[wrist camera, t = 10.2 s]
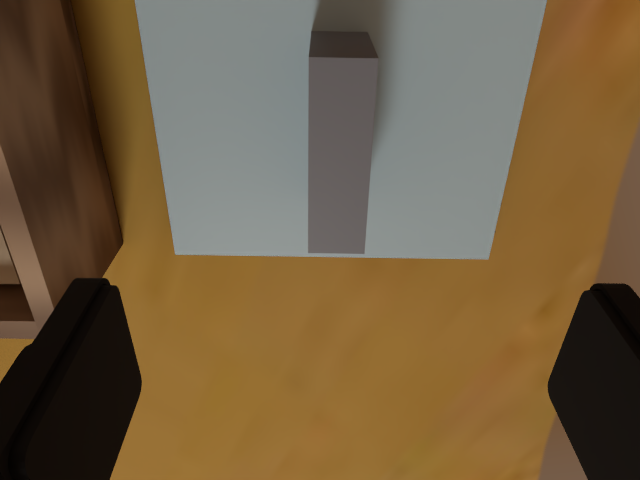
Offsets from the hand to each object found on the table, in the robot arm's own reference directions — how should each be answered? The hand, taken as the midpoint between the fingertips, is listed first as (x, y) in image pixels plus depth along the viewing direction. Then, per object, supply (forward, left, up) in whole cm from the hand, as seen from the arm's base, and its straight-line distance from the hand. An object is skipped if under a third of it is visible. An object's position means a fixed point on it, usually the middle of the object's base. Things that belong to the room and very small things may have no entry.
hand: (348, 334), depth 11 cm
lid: (+1, 0, -17) cm, 17 cm away
